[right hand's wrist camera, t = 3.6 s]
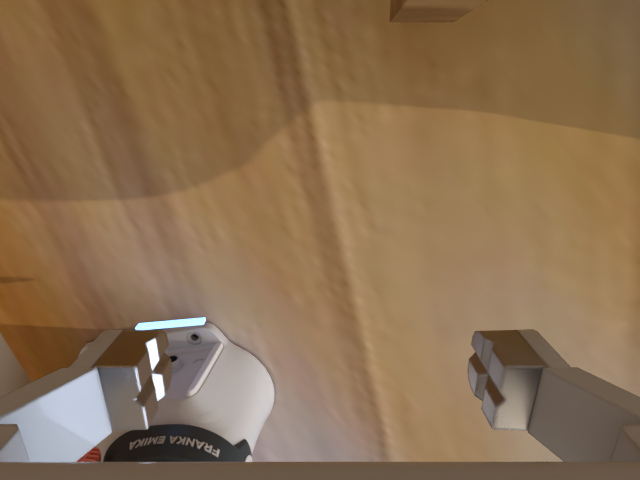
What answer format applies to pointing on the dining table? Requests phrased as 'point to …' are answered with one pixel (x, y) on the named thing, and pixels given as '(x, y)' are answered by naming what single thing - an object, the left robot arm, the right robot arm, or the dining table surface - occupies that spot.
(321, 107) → the dining table surface
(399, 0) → the bar
